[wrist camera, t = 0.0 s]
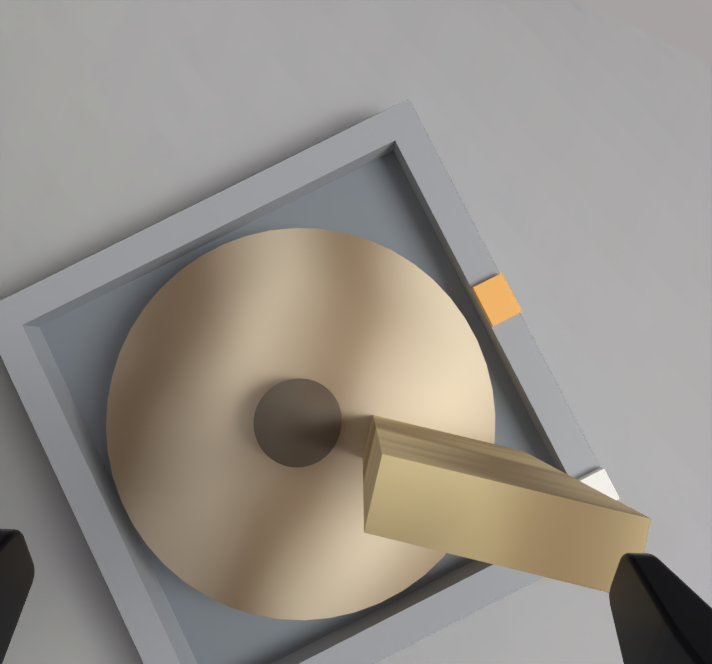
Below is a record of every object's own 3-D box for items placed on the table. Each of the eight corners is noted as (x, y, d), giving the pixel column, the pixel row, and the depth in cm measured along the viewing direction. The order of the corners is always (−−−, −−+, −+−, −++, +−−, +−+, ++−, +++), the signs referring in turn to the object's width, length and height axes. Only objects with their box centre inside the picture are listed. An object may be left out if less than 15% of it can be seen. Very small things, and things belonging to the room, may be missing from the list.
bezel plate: (610, 516, 24) (637, 532, 21) (202, 725, 23) (185, 764, 21) (404, 120, 25) (409, 94, 22) (11, 315, 24) (-26, 310, 22)
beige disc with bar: (83, 553, 23) (-177, 728, 12) (174, 201, 23) (9, 57, 12) (466, 647, 22) (567, 919, 11) (546, 288, 23) (714, 219, 12)
